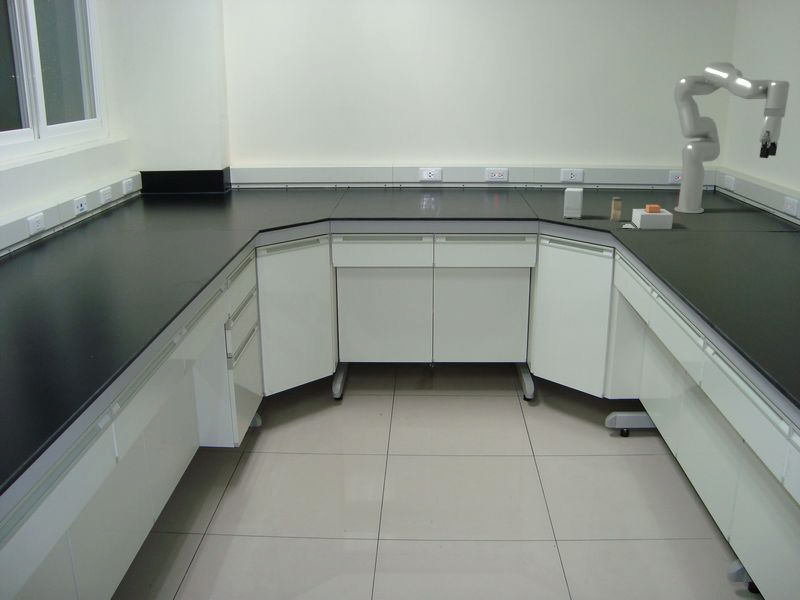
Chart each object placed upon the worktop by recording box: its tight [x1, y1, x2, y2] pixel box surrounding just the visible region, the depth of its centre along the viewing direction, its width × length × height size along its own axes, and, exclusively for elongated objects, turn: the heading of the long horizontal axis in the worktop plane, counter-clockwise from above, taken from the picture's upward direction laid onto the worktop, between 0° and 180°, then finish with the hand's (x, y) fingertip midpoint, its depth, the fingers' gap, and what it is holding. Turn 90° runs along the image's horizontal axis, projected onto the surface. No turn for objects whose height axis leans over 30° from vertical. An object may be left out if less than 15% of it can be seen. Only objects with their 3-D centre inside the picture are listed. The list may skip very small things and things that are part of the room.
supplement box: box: [563, 187, 584, 218], centre depth 322 cm, size 7×7×13 cm
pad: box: [622, 223, 636, 230], centre depth 304 cm, size 8×8×1 cm
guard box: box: [631, 208, 674, 230], centre depth 305 cm, size 12×13×6 cm
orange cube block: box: [645, 204, 662, 213], centre depth 304 cm, size 5×5×5 cm
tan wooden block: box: [610, 196, 623, 221], centre depth 315 cm, size 3×3×10 cm
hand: (767, 156), depth 296 cm, fingers open, 9 cm apart
